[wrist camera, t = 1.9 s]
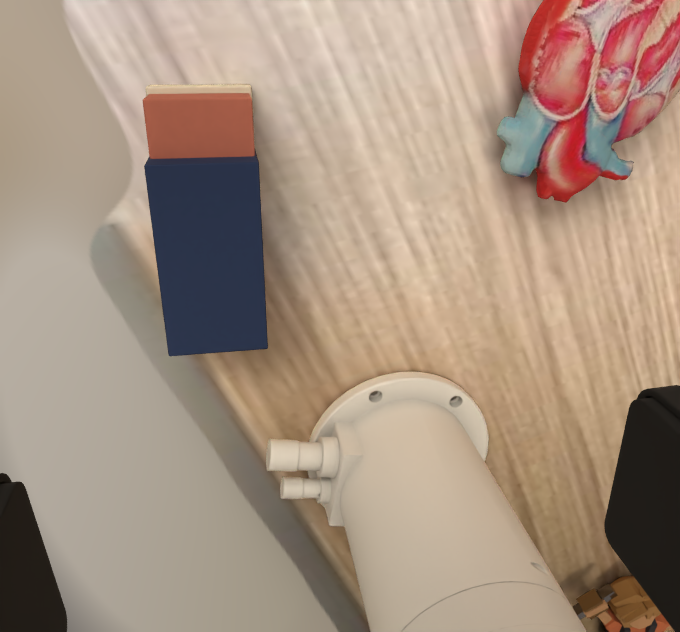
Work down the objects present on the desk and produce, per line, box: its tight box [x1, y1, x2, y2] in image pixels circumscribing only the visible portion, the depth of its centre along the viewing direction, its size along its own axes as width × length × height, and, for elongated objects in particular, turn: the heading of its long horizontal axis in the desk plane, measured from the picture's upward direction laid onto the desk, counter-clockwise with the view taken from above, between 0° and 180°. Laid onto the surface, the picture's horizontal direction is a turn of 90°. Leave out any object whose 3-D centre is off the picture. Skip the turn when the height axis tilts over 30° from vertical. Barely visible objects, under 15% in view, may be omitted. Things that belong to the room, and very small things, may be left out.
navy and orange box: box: [143, 84, 268, 356], centre depth 31 cm, size 13×5×5 cm, turn 0°
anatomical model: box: [497, 0, 680, 203], centre depth 31 cm, size 9×15×4 cm, turn 157°
